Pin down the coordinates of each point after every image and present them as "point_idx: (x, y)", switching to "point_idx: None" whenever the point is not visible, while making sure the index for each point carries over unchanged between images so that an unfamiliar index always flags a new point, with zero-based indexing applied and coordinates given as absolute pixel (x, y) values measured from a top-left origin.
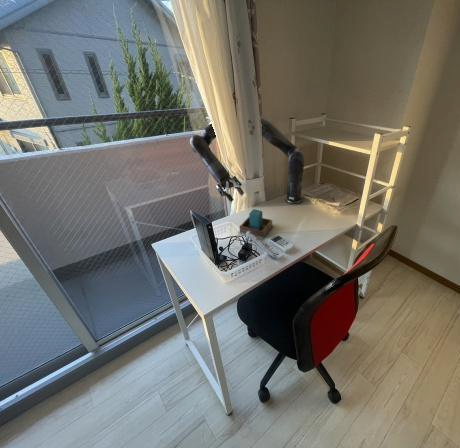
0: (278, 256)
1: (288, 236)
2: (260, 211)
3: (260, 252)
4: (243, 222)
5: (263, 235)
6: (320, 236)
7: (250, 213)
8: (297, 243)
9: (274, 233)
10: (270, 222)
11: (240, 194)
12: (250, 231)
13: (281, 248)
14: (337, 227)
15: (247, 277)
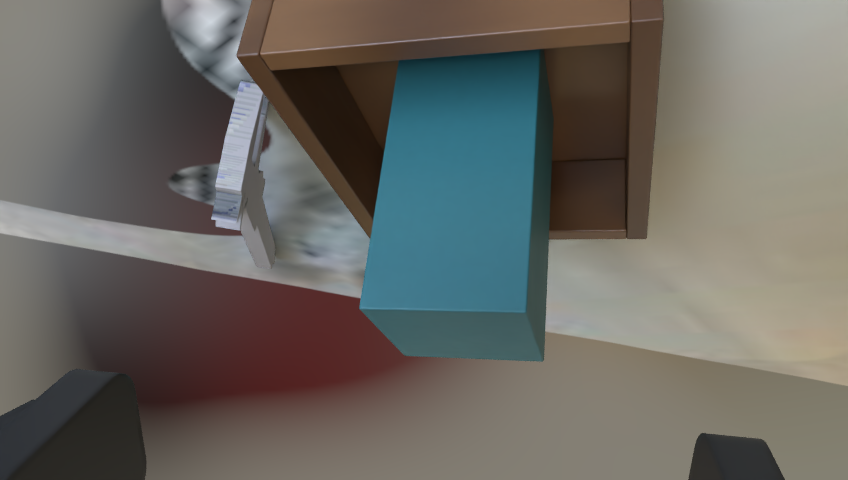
0: (299, 259)
1: (548, 254)
2: (515, 354)
3: None
4: (363, 48)
5: None
6: (649, 335)
7: (372, 315)
8: None
9: None
10: (586, 236)
11: (711, 464)
12: (234, 227)
13: None
14: (803, 366)
15: (17, 215)
